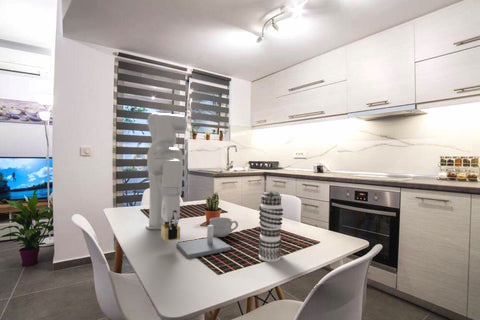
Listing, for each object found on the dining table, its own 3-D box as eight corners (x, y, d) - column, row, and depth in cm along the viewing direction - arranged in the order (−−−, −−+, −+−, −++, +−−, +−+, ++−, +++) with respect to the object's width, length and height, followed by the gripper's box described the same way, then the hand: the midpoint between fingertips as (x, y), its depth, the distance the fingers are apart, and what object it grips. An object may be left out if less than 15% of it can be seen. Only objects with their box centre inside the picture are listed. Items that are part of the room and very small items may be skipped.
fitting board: (176, 246, 101) (177, 225, 101) (215, 239, 111) (216, 220, 111) (187, 258, 90) (188, 234, 89) (230, 250, 99) (231, 228, 99)
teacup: (205, 236, 115) (205, 220, 115) (215, 230, 125) (216, 215, 125) (231, 241, 110) (232, 223, 110) (240, 234, 120) (241, 218, 120)
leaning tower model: (265, 263, 87) (267, 194, 87) (253, 254, 95) (255, 190, 95) (286, 260, 91) (288, 193, 90) (273, 251, 99) (275, 190, 99)
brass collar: (161, 236, 97) (161, 224, 97) (175, 234, 100) (175, 222, 100) (164, 241, 92) (165, 228, 92) (179, 239, 95) (180, 226, 95)
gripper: (157, 188, 101) (155, 231, 101) (167, 195, 86) (166, 245, 86) (174, 187, 105) (173, 228, 105) (188, 194, 90) (186, 242, 90)
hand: (170, 235), depth 96 cm, fingers closed on brass collar, 5 cm apart
